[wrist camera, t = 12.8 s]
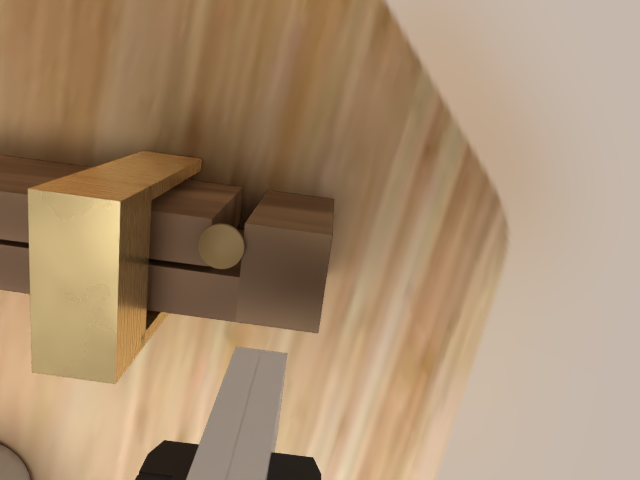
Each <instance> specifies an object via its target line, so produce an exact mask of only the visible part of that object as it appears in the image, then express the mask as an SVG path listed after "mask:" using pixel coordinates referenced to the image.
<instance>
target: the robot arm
mask: <svg viewBox="0 0 640 480" xmlns="http://www.w3.org/2000/svg"><path fill="white" fill-rule="evenodd" d="M286 361H287V353H281V352H273V351H265V350H258V349H250V348H242V347H235V350H234V352H233V355H232V358H231V360H230V363H229V366H228V368H227V371H226V374H225V376H224V379H223V382H222V385H221V387H220V390H219V393H218V395H217V398H216V401H215V403H214V406H213V409H212V411H211V414H210V417H209V420H208V422H207V425H206V428H205V430H204V433H203V436H202V438H201V441H200V444H199V445H198V444H190V443H182V442H174V441H166V440H164V441H163V442H162V443H161V444H159V445H158V446H157V447H156V448H155V449H154V450H152V451H151V452H150V453H149V454H148V455H147V457H146V459H145V461H144V463H143V465H142V467H141V469H140V471H139V475H137V477H136V479H135V480H321V473H320V471H319V469H318V467H317V465H316V462H315V460H314V458H313V457H305V456H297V455H289V454H281V453H274V452H275V446H276V440H277V434H278V426H279V418H280V410H281V402H282V393H283V385H284V377H285V369H286Z"/></svg>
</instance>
